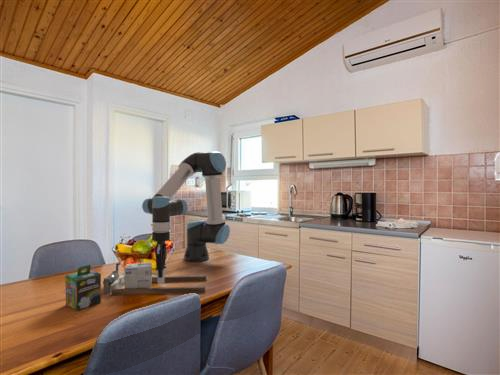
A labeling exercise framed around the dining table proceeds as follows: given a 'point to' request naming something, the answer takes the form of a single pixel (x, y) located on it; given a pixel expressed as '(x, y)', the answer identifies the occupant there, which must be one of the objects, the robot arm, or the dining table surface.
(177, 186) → the robot arm
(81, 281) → the chalk box
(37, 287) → the dining table surface
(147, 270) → the light bulb box
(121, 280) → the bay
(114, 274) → the winch
